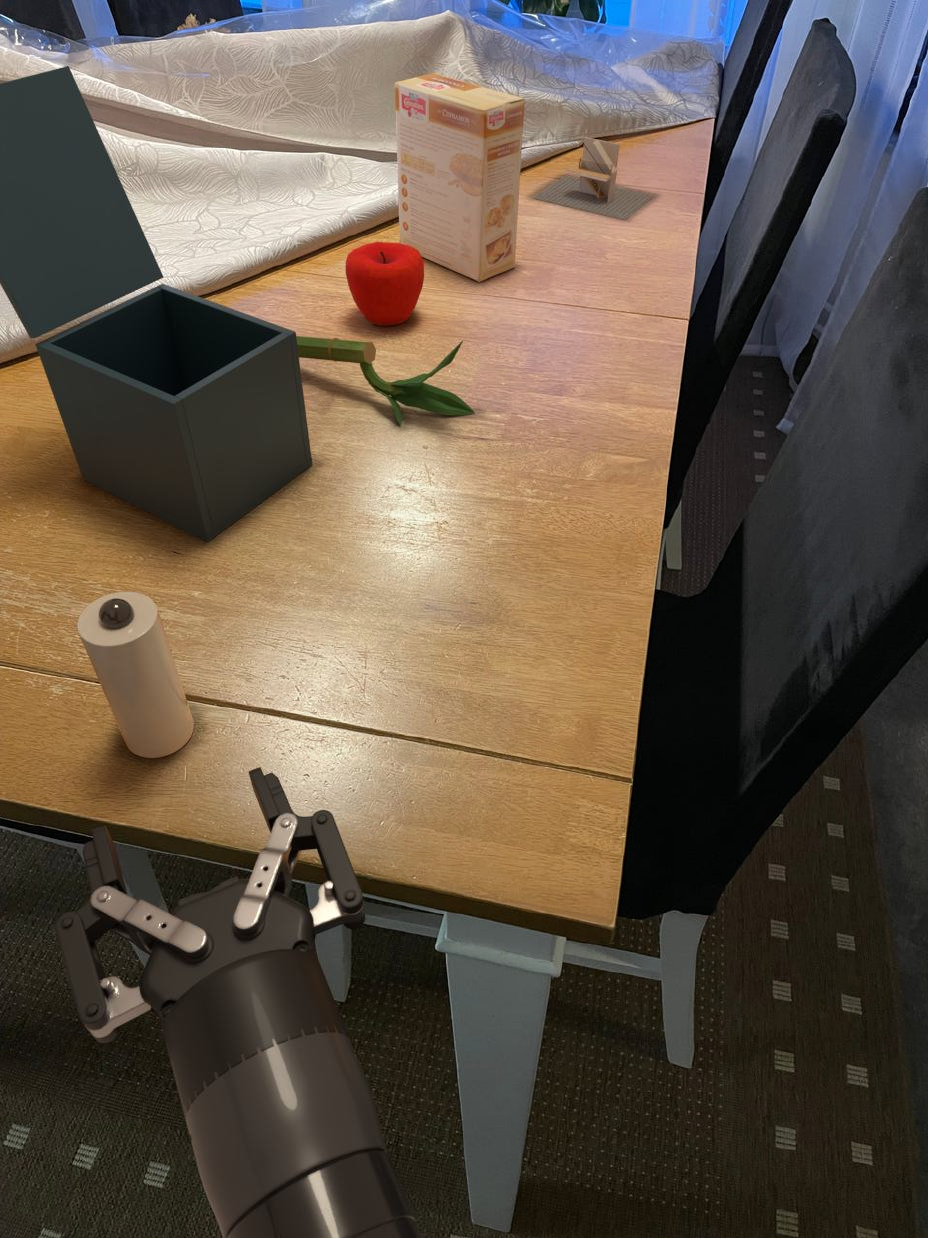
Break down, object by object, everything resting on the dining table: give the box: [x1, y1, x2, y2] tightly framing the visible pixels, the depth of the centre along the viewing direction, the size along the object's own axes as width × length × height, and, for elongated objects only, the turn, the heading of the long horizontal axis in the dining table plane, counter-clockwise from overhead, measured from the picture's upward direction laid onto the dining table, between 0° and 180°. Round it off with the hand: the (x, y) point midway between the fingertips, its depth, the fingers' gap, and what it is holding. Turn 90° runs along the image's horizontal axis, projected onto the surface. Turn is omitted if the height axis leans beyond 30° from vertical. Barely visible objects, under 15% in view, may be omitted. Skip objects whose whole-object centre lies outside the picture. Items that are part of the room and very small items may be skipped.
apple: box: [344, 241, 425, 327], centre depth 100 cm, size 9×9×8 cm
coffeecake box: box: [394, 72, 526, 283], centre depth 108 cm, size 15×7×20 cm, turn 46°
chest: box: [34, 283, 313, 543], centre depth 76 cm, size 16×14×13 cm
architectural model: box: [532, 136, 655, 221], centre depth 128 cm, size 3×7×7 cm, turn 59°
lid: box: [0, 65, 164, 339], centre depth 69 cm, size 16×14×1 cm
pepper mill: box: [76, 591, 195, 759], centre depth 56 cm, size 5×5×12 cm
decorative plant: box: [296, 335, 475, 427], centre depth 91 cm, size 6×8×30 cm
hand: (181, 805), depth 49 cm, fingers open, 8 cm apart
